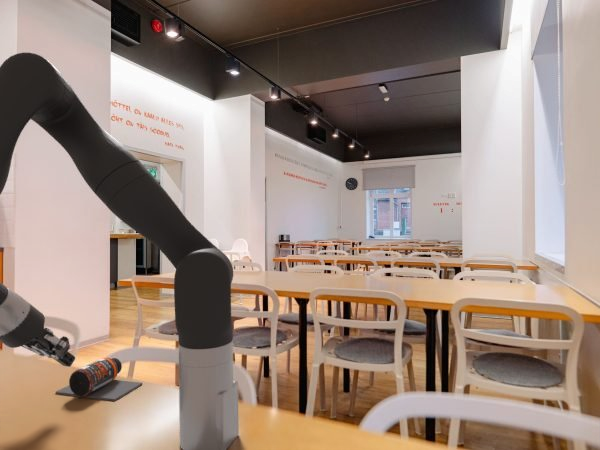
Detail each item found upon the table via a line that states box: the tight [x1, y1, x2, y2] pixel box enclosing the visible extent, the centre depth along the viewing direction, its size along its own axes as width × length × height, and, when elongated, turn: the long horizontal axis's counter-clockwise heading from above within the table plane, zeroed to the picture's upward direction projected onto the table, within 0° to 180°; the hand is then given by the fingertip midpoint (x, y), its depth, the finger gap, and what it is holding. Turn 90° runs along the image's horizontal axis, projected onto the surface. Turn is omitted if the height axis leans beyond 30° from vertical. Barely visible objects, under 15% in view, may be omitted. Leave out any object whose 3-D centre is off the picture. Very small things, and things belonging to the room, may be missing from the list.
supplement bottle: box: [68, 357, 123, 398], centre depth 90 cm, size 6×6×11 cm
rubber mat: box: [55, 379, 143, 402], centre depth 90 cm, size 16×9×1 cm, turn 75°
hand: (70, 362), depth 83 cm, fingers closed
